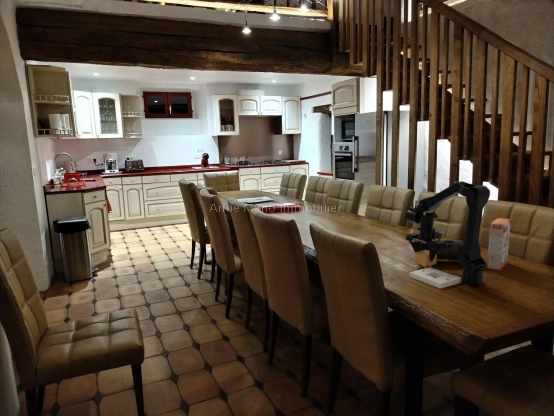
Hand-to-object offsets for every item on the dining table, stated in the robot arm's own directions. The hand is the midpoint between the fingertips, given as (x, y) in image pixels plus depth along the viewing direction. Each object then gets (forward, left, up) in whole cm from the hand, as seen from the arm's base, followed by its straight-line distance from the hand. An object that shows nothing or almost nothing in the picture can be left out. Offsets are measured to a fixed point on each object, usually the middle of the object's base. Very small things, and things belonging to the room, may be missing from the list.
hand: (424, 258), depth 177 cm
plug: (-1, 0, -4) cm, 4 cm away
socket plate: (-14, +9, -4) cm, 17 cm away
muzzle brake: (+1, -15, -4) cm, 15 cm away
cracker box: (-17, -28, -4) cm, 33 cm away
